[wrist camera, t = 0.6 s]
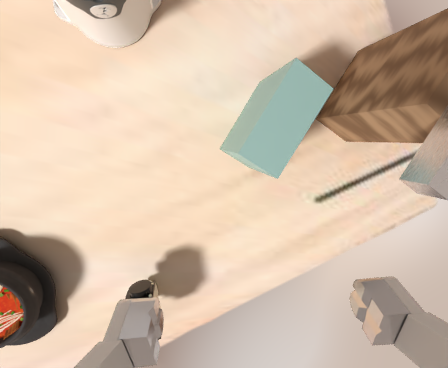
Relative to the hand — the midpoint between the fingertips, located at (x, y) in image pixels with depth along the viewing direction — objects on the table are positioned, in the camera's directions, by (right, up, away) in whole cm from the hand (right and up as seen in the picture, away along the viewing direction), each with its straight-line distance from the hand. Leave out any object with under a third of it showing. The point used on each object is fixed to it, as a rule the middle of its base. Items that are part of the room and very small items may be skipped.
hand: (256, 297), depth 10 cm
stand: (+29, +25, +48) cm, 61 cm away
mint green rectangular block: (+5, +18, +44) cm, 48 cm away
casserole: (-46, -17, +41) cm, 64 cm away
